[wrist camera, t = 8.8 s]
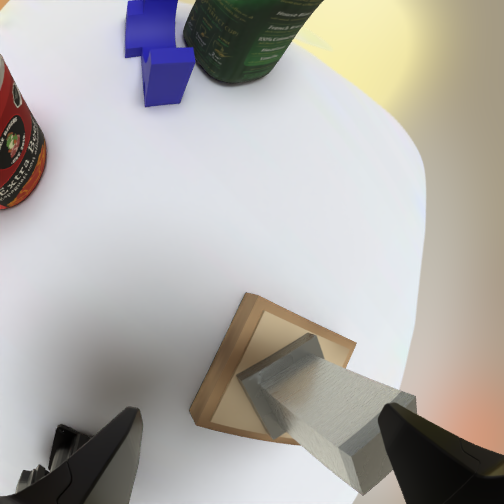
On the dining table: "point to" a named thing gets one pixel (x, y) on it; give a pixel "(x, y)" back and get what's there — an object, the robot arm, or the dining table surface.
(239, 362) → the light tan tray
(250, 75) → the coffee jar
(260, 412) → the steel housing
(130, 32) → the cable clip
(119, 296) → the dining table surface
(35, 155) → the canned food
